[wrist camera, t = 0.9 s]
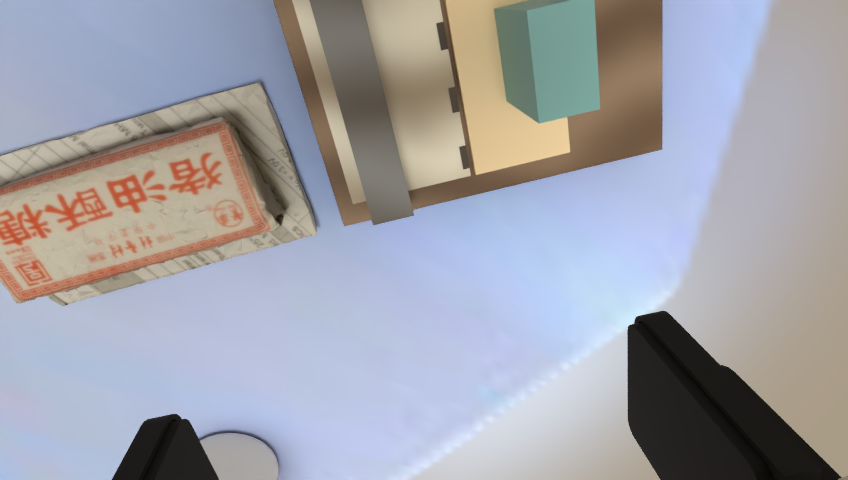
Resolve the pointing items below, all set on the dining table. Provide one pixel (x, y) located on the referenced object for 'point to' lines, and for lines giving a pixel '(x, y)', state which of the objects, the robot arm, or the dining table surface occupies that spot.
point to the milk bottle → (240, 457)
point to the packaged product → (148, 198)
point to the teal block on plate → (523, 75)
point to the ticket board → (448, 101)
